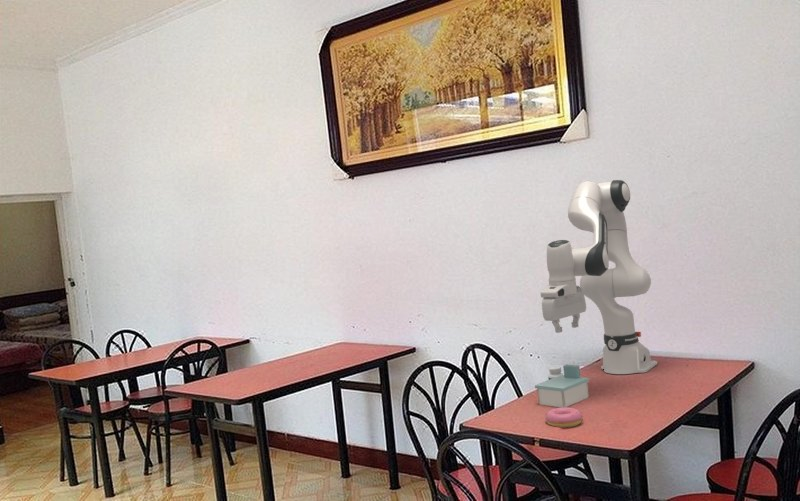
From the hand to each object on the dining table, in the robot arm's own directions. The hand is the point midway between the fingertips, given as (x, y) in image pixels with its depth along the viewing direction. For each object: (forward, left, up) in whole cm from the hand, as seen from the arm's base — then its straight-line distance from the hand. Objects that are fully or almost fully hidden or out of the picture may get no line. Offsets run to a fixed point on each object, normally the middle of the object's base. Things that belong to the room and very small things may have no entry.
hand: (567, 329), depth 238 cm
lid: (+6, 0, -17) cm, 18 cm away
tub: (+6, 0, -23) cm, 24 cm away
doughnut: (+25, +13, -24) cm, 37 cm away
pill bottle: (-3, -9, -23) cm, 25 cm away
